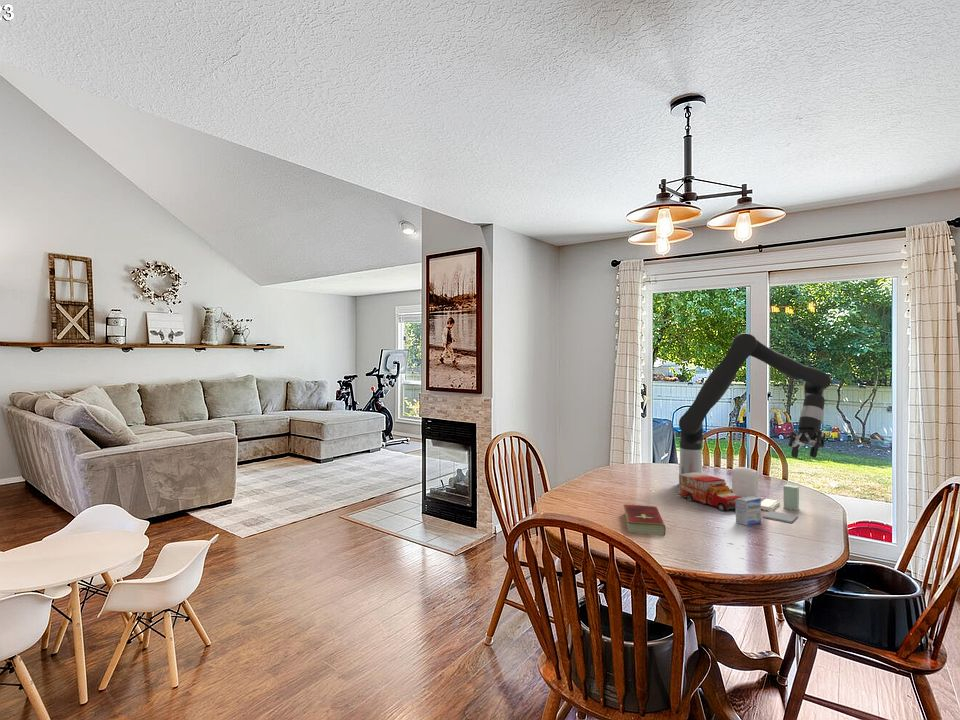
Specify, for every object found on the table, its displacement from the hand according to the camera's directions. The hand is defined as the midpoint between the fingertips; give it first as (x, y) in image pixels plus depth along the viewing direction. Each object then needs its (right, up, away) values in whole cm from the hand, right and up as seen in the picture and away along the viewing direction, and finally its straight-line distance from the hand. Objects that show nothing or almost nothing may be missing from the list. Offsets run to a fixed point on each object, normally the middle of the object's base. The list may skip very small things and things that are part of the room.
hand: (803, 457), depth 196 cm
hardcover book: (-70, -20, -21) cm, 76 cm away
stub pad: (-18, -19, -15) cm, 30 cm away
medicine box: (-33, -19, -20) cm, 43 cm away
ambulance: (-35, -20, +4) cm, 40 cm away
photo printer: (-16, -19, +13) cm, 28 cm away
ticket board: (-14, -19, -1) cm, 24 cm away
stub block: (-7, -19, -3) cm, 21 cm away
